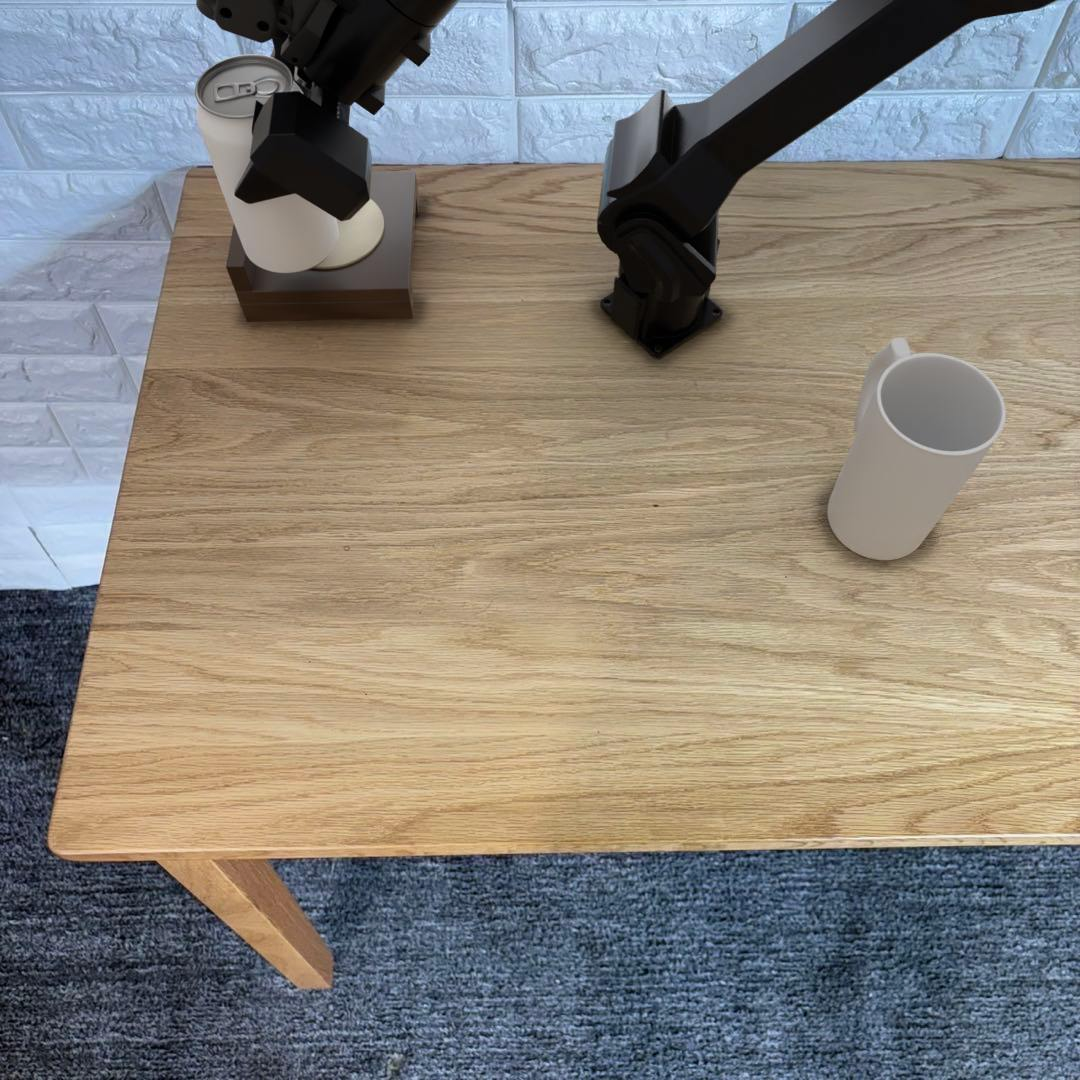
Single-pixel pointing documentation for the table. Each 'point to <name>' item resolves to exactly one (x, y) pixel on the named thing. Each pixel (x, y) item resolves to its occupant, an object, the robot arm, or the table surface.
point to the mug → (911, 448)
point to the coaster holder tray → (343, 265)
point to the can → (226, 127)
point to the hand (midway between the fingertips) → (246, 162)
